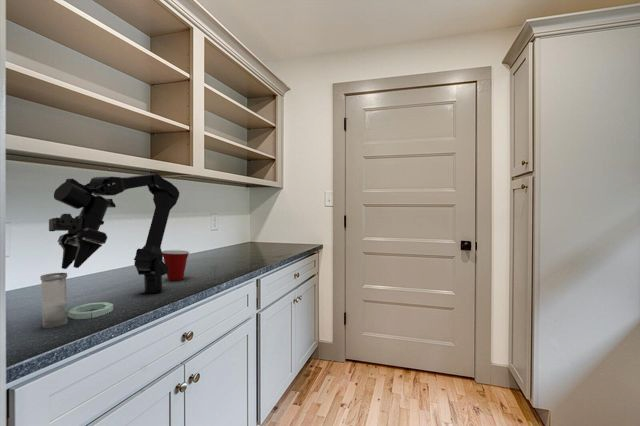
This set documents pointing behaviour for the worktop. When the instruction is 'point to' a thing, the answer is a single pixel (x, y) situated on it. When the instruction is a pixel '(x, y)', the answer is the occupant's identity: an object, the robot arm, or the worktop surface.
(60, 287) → the glass jar
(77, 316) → the collar ring
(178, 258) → the plastic cup
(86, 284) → the worktop surface
